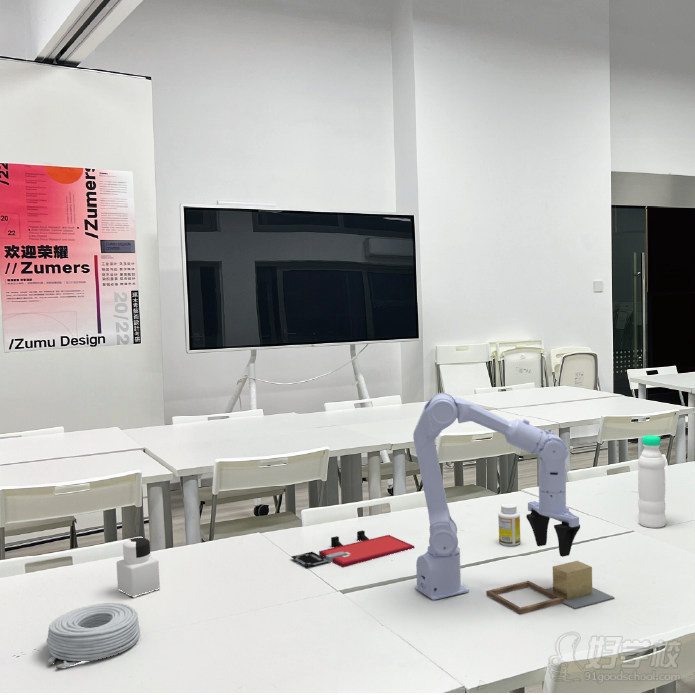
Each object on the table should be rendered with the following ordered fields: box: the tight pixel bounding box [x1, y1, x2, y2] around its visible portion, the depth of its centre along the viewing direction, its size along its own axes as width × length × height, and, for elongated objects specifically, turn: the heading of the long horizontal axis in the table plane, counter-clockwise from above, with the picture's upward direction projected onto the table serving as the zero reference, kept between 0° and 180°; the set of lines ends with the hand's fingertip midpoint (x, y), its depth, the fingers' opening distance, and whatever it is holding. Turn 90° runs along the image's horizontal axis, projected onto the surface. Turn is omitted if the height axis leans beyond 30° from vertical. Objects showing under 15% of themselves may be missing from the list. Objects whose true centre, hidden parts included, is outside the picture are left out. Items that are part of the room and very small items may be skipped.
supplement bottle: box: [497, 503, 521, 547], centre depth 201 cm, size 6×6×10 cm
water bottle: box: [637, 434, 666, 529], centre depth 212 cm, size 7×7×25 cm
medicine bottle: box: [115, 537, 161, 596], centre depth 177 cm, size 7×7×12 cm
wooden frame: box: [486, 580, 564, 615], centre depth 165 cm, size 12×12×1 cm
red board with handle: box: [290, 530, 415, 568], centre depth 198 cm, size 30×3×15 cm
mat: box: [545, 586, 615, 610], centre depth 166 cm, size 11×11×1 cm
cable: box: [45, 602, 141, 668], centre depth 150 cm, size 18×18×6 cm
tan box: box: [552, 560, 593, 600], centre depth 166 cm, size 7×4×6 cm, turn 116°
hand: (552, 550), depth 168 cm, fingers open, 7 cm apart
